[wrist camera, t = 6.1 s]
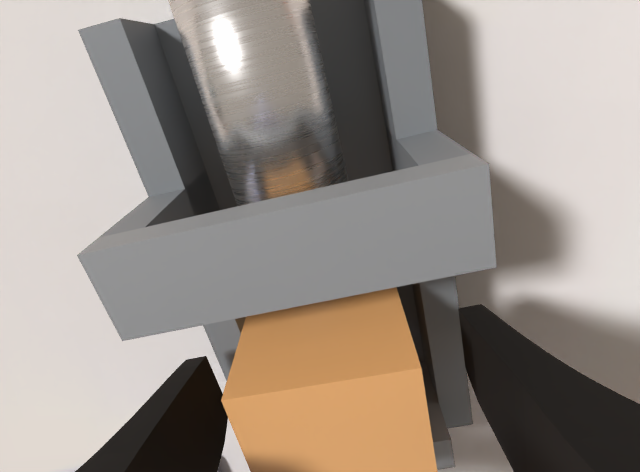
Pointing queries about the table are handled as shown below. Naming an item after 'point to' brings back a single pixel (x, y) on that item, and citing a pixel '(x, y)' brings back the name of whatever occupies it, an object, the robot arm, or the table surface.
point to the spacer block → (330, 389)
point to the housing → (297, 200)
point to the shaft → (263, 94)
